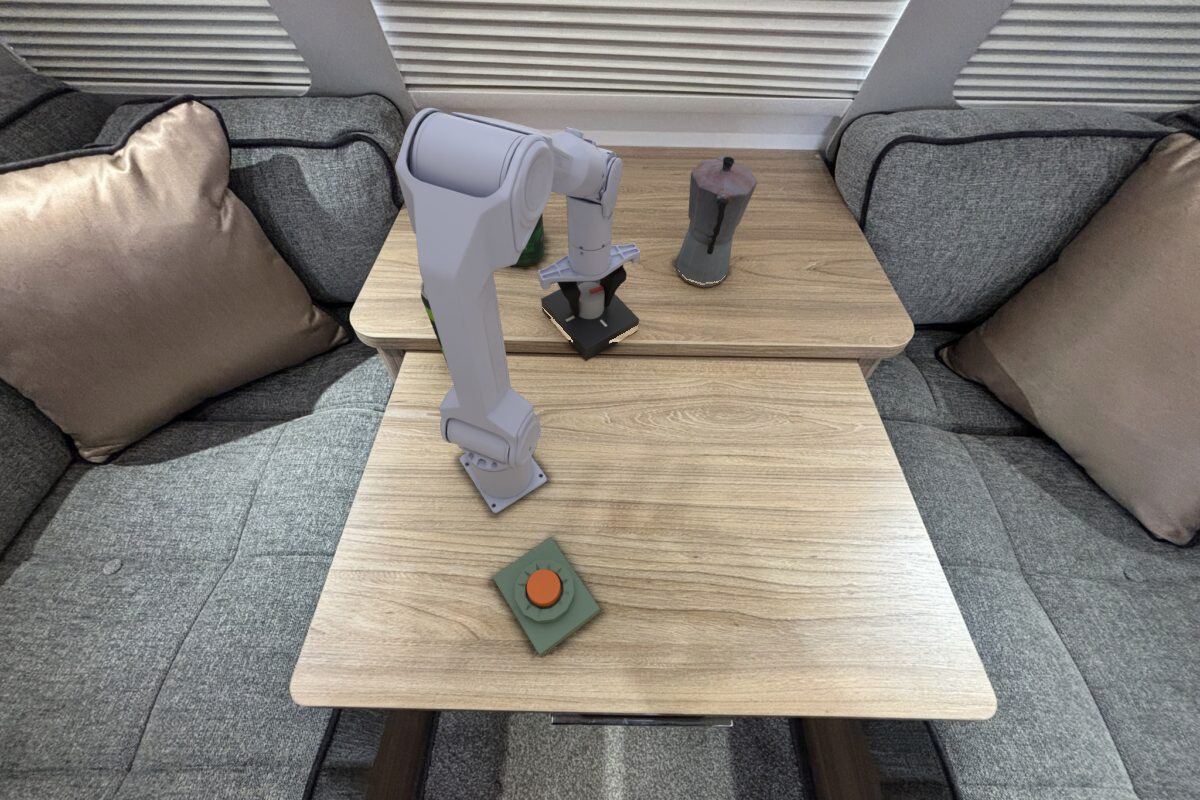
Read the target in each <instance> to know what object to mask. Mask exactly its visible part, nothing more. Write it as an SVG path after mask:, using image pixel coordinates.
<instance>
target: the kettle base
mask: <svg viewBox="0 0 1200 800" xmlns="http://www.w3.org/2000/svg"><path fill="white" fill-rule="evenodd" d="M542 569H547V570H550V571H552V572H554V573H555V574H556V575H557V576H558V578H559V581H560V585H561V593H560V596H559V598H558V599H557V601H556V602H555V603H554V604H552V605H550V606H547V607H541V606H537V605H536V604H534V603H533V602H532V601H531V599H530V597H529V595H528V593H527V582H528V580H529V578H530V576H531V575H532V574H533V573H534V572H536V571H538V570H542ZM492 579H493V581H494V582H495V584H496V586H497V588H498V589H499V591H500V593H501V594H502V596H503V597H504V599H505V601H506V602H507V604H508V606H509V607H510V609H511V611H512V613H513V614H514V615H515V618H516V619H517V621H518V622H519V625H520V626H521V627H522V629H523V630H524V633H525V634H526V636H527V637H528V639H529V641H530V642H531V645H532V646H533V647H534V649H535V651H536V652H537V654H538V656H539V657H540V658H543V656H545V655H547V654H548V653H549V652H550V651H551V650H553V649H555V647H557V646H558V645H559V644H561V643H562V642H563V641H565V640H566V639H567V638H569V637H570V636H571V635H572V634H574V633H575V632H577V631H578V630H579V629H580V628H582V627H583V626H584V625H586V624H587V623H588V622H590V621H591V620H592V619H594V618H595V617H596V616H598V615H599V614H600V613H601V608H600V606H599V605H598V603H597V602H596V600H595V599H594V597H593V596H592V594H591V593H590V591H589V590H588V588H587V587H586V586H585V584H584V582H583V581H582V579H581V578H580V577H579V575H578V574H577V572H576V571H575V569H574V568H573V567H572V564H570V562H569V561H568V559H567V558H566V556H565V555H564V554H563V552H562V551H561V549H560V547H559V546H558V545H557V543H556V541H555V540H554V539H553V537H552V536H551V537H548V538H547V539H545V540H544V541H543V542H542V543H540V544H538V545H537V546H535V547H534V548H532V549H531V550H529V551H528V552H527V553H525V554H524V555H522V556H521V557H519V558H518V559H516V560H514V561H513V562H512V563H511V564H508V566H506V567H504V568H503V569H502V570H500V571H499V572H497V573H496V574H494V575H493V576H492ZM545 652H546V653H545Z"/></svg>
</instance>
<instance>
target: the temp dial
mask: <svg viewBox="0 0 1200 800" xmlns="http://www.w3.org/2000/svg"><path fill="white" fill-rule="evenodd" d="M578 288H579V289H580V291H581V295H580V298H579V316H580V317H582V318H584V319H595V318H598V317H599V316H601V315H602V313H603V311H604V295H605V292H604V288H603V286H601V285H599V284H598V283H595V282H584V283H582V284H580V285H578Z"/></svg>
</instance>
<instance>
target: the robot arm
mask: <svg viewBox="0 0 1200 800" xmlns="http://www.w3.org/2000/svg"><path fill="white" fill-rule="evenodd" d="M405 130H406V131H405V133H404V135H403V136H404V137H403V140H402V143H401V146H400V150H399V152H398V156H397V159H396V162H395V164H394V165H395V166H394V169H395V173H396V176H397V180H398V182H399V187H400V190H401V194H402V197H403V201H404V204H405V207H406V211H407V215H408V218H409V222H410V224H411V228H412V231H413V234H414V235H415V238H416V249H417V252H416V253H417V262H418V268H419V269H418V270H419V273H420V277H421V281H422V282H423V284H424V288H425V291H426V294H427V298H428V301H429V304H430V308H431V311H432V314H433V318H434V321H435V324H436V328H437V331H438V334H439V338H440V341H441V344H442V348H443V351H444V354H445V358H446V360H445V362H446V361H447V362H446V364H447V368H448V371H449V375H450V378H451V381H452V386H451V387H450V389H448V390H447V392H446V394H445V395H444V397H443V399H442V401H441V403H440V405H439V407H438V410H439V413H440V422H439V429H440V435H441V438H442V440H443V441H444V442H447V443H449V444H455V445H457V446H458V448H459V449H460V450H462V451H463V452H464V454H462V455H461V456H459V462H460V464H461V465H462V466H463V468H464V470H465V471H466V473H467V474H468V476H469V477H470V479H471V480H472V482H473V484H474V485H475V487H476V488H477V491H479V493H480V494H481V496H482V498H483V499H484V501H485V502H486V504H487V505H488V507H489V509H490V510H491V512H492V513H493V514H498V513H500V512H502V511H503V510H504V509H506V508H508V507H510V506H511V505H513V504H514V503H515V502H517V501H519V500H520V499H522V498H524V497H525V496H527V495H528V494H530V493H531V492H533V491H534V490H536V489H538V488H539V487H541V486H542V485H544V484H545V483H547V481H548V478H547V476H546V474H545V473H544V471H543V470H542V469H541V467H540V466H539V465H538V463H537V462H536V460H535V459H534V458H533V454H534V452H535V449H536V447H537V445H538V442H539V439H540V435H541V429H542V426H541V421H540V418H539V416H538V415H537V414H535V409H534V405H533V404H532V403H531V402H530V401H529V400H528V399H526V398H525V397H523V395H521V394H520V393H519V392H517V391H516V390H515V389H514V388H513V387H512V384H511V379H510V372H509V365H508V358H507V352H506V346H505V345H506V344H505V340H504V332H503V327H502V321H501V320H502V319H501V314H500V313H501V312H500V307H499V301H498V295H497V294H498V293H497V288H496V281H495V275H494V272H495V271H497V270H501V269H504V268H507V267H511V266H514V264H516V263H517V261H518V259H519V257H520V255H521V253H522V251H523V250H524V248H525V247H526V245H527V243H528V241H529V239H530V237H531V235H532V232H533V230H534V228H535V226H536V224H537V222H538V220H539V218H540V216H541V214H543V212H544V211H545V209H546V207H547V205H548V202H549V200H550V197H551V194H552V193H554V194H556V195H557V194H558V195H562V196H565V198H566V199H565V200H566V201H565V202H566V222H567V223H566V224H567V244H568V245H567V246H568V253H567V254H565V256H563V257H561V258H559V259H558V260H556V261H555V262H553V263H552V264H549V265H548V266H546V267H543V268H541V269H538V270H537V277H538V282H539V284H540V286H541V288H542V290H543V291H546V290H549V289H551V285H553V284H557V285H558V288H559V289H561V291H562V293H563V295H564V296H565V297H566V299H567V300H568V302H569V306H570V309H571V311H572V313H573V315H574V316H578V315H579V298H580V295H581V291H580V289H579V288H578V286H577V282H576V281H595V280H599V279H600V285H601V286H603V288H604V292H605V295H604V306H605V307H607V306H609V305H610V302H611V300H612V298H613V295H614V294H615V295H616V292H617V290H618V289H619V287H620V286H621V285H622V284H623V283H624V282H625V281H627V275H628V273H627V270H626V269H625V267H624V265H625V264H626V263H628V262H631V264H637V263H640V260H641V250H640V249H639V247H638V246H637V244H636V243H635V242H632V243H629V244H612V241H613V240H612V239H613V238H612V236H613V215H614V214H613V213H614V209H615V208H616V205H617V200H618V197H619V196H618V195H619V188H620V183H621V180H622V175H623V166H624V165H623V161H622V159H621V158H620V157H617V155H618V154H617V153H616V152H615V151H613V150H610V149H607V148H602V147H599V146H596V145H597V142H596V140H595V139H593V138H589V137H584V132H583V131H582V130H580V129H578V128H577V129H576V128H572V127H568V126H567V127H565V131H557V132H554V133H551V134H547V133H545V132H543V131H542V130H540V129H537V128H535V127H531V126H527V125H523V124H518V123H515V122H511V121H507V120H503V119H498V118H493V117H487V116H482V115H476V114H470V113H466V112H465V113H464V112H455V111H451V112H450V114H448V113H445V112H444V111H443V110H441V109H440V108H439V109H438V108H434V107H425V108H423V109H421V110H420V111H419V112H417V113H416V114H415V115H414V117H413V118H412V119H411V121H410V123H409V124H408V126H407V128H406V129H405ZM445 358H444V359H445ZM467 464H468V465H467ZM540 476H542V477H540ZM493 506H494V507H493Z"/></svg>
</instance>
